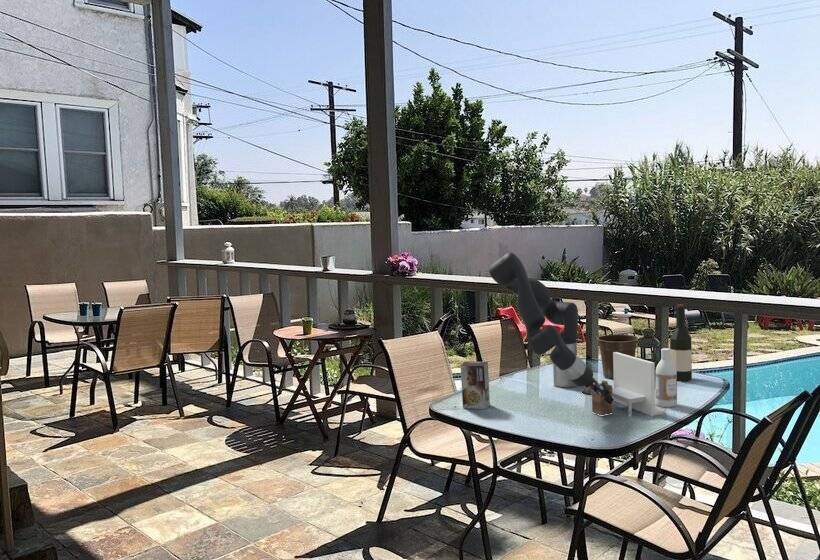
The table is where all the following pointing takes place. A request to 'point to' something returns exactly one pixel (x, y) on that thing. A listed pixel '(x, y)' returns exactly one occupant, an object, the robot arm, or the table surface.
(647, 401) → the wall shelf
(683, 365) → the wine bottle
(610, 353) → the plant pot
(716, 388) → the table surface
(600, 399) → the brown tall block
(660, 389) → the bath foam
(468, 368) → the coffee box
